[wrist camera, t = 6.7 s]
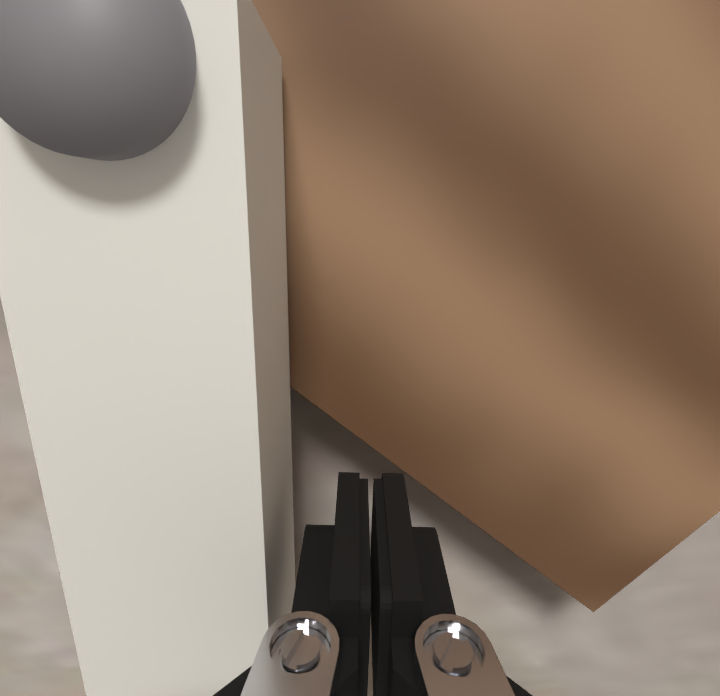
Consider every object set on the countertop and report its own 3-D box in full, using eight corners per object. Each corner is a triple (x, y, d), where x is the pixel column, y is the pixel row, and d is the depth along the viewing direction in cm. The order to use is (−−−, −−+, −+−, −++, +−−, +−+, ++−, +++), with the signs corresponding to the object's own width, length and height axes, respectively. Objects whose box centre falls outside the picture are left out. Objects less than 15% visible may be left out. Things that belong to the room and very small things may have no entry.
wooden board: (402, -479, 10) (421, -757, 7) (939, 214, 14) (1086, 217, 11) (36, 147, 13) (-50, 133, 11) (555, 546, 18) (593, 612, 15)
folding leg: (85, 30, 10) (-134, -108, 5) (285, 36, 10) (229, -97, 5) (176, 700, 16) (106, 895, 11) (301, 701, 16) (280, 895, 11)
